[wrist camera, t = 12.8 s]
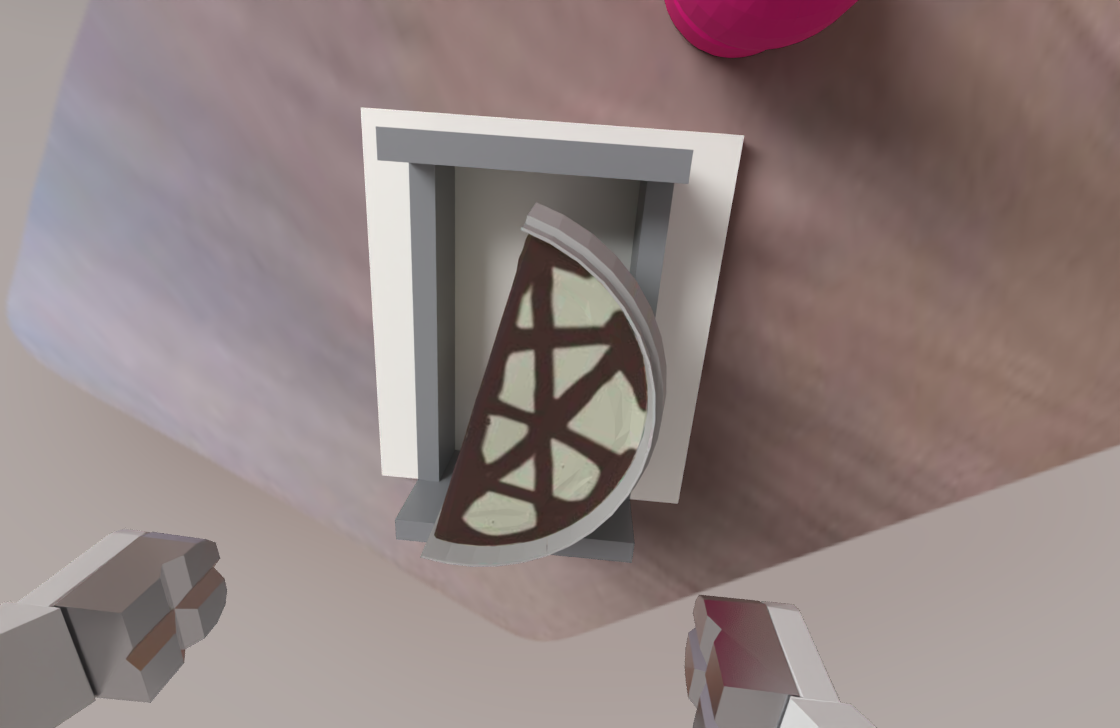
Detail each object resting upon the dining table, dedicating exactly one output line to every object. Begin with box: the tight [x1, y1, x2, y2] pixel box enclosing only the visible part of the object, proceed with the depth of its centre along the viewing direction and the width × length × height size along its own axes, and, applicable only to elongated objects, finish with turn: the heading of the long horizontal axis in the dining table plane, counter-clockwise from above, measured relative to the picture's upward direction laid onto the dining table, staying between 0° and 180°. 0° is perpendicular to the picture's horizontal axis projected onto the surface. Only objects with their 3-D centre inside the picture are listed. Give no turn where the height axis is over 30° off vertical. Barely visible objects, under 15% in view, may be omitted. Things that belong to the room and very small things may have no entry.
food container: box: [420, 202, 667, 567], centre depth 20 cm, size 12×6×10 cm, turn 161°
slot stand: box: [361, 108, 744, 563], centre depth 22 cm, size 16×18×7 cm
